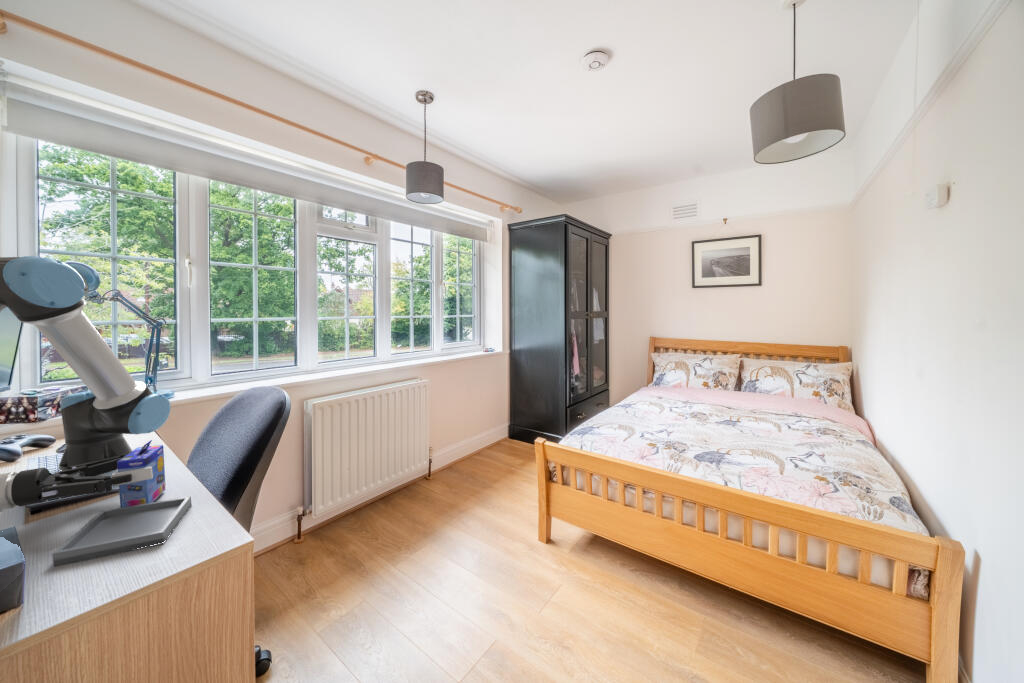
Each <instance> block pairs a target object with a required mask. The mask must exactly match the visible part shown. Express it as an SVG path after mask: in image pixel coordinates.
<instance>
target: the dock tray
mask: <svg viewBox="0 0 1024 683" xmlns="http://www.w3.org/2000/svg"><path fill="white" fill-rule="evenodd" d="M189 508H190V509H191V508H192V496H191V495H190V496H183V497H177V498H172V499H166V500H159V501H154V502H153V503H147V504H141V505H135V506H129V507H123V508H120V507H119V508H118V507H117V508H111V509H106V510H101V511H100V512H98V513H97V514H96V515H95V516H93V518H91V519H90V520H89V521H88V522H87V523H86V524H84V525H83V526H82V527H80V529H79V530H77V532H75V533H74V534H73V535H72V536H71V537H70V538H68V539H67V540H66V541H65V542H64V543H63V544H62V545H60V547H58V548H57V549H56V550H55V551H53V552H52V554H51V555H52V562H53V567H57V566H62V565H67V564H72V563H78V562H81V561H87V560H92V559H97V558H102V557H105V556H106V557H107V556H111V555H116V554H121V552H122V553H125V551H126V552H131V551H134V550H133V549H136V550H138V549H137V548H141V547H145V546H150V545H154V544H158V543H162V542H164V541H165V540H166V539H167V538H168V536H169V535H170V533H171V532H172V531H173V529H174V528H175V527H176V525H177V524H178V523H179V521H180V520H181V519H182V517H183V516H184V515H185V516H186V514H187V513H188V512H187V511H189V510H190V509H189ZM188 509H189V510H188ZM186 512H187V513H186ZM185 513H186V514H185ZM185 516H184V517H185ZM184 517H183V518H184ZM182 520H183V519H182ZM182 520H181V521H182ZM181 521H180V522H181ZM179 524H180V523H179ZM179 524H178V525H179ZM178 525H177V526H178ZM176 528H177V527H176ZM176 528H175V529H176ZM173 532H174V531H173ZM173 532H172V533H173ZM170 536H171V535H170ZM170 536H169V537H170ZM168 539H169V538H168ZM168 539H167V540H168ZM141 549H142V548H141ZM130 550H131V551H130Z"/></svg>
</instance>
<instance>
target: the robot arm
mask: <svg viewBox="0 0 1024 683" xmlns="http://www.w3.org/2000/svg"><path fill="white" fill-rule="evenodd" d="M85 289H86V284H85V281H84V279H83V277H82V275H81V274H80V273H79V272H78V271H77V270H76V269H75V268H73V267H72V266H71V265H69V264H68V263H66V262H63V261H61V260H57V259H54V258H50V257H49V258H48V257H41V256H32V255H31V256H30V255H29V256H12V257H11V256H7V257H6V256H5V257H0V313H1V312H2V311H3V310H5V309H6V308H8V309H9V310H10V312H11V313H12V314H13V315H14V316H15V317H16V318H17V320H18V321H19V322H21V323H24V324H28V325H34V326H35V327H36V328H37V330H38V331H39V332H40V333H41V334H42V335H43V336H44V338H45V339H46V340H47V341H48V342H49V343H50V345H51V346H52V347H53V349H54V350H56V352H57V353H58V354H59V356H60V357H61V358H62V359H63V360H64V362H65V363H66V364H67V365H68V366H69V367H70V369H71V370H72V371H73V372H74V373H75V374H76V376H77V377H78V378H79V380H81V381H82V382H83V384H84V385H85V387H87V389H88V391H87V390H86V391H82V392H77V393H76V392H75V393H71V394H68V395H65V396H63V397H62V398H61V399H60V408H59V411H60V414H61V419H62V420H61V421H62V428H63V436H64V442H65V448H64V449H63V453H62V455H61V458H60V462H59V464H58V470H59V469H60V470H62V471H60V472H59V471H58V472H56V473H51V472H50V470H49V469H47V468H46V467H38V468H33V469H26V470H21V471H18V472H16V471H12V472H6V473H2V474H0V513H2V512H3V511H6V510H9V509H10V510H11V509H14V508H16V507H19V508H20V507H22V508H23V507H25V506H31V505H35V504H36V505H37V504H41V503H44V502H46V501H47V500H53V499H58V498H65V497H66V498H67V497H74V496H75V497H76V496H82V495H83V496H84V495H91V494H99V493H104V492H111V491H112V490H113V487H116V486H119V485H122V484H127V483H132V482H137V481H142V480H147V479H152V478H153V474H152V467H146V468H141V469H135V470H130V471H124V472H119V473H118V472H114V471H118V469H117V462H118V461H119V460H120V459H122V458H123V457H124V456H126V455H128V454H129V453H131V452H132V451H133V449H132V448H131V446H130V445H129V443H128V441H127V440H126V439H125V437H124V434H125V435H141V434H142V435H143V434H144V435H145V434H150V433H153V432H155V431H158V430H159V429H160V428H162V426H164V424H165V423H166V422H167V420H168V419H169V417H170V413H171V409H172V406H171V402H170V400H169V398H168V397H166V395H163V394H160V393H153V392H152V391H151V390H150V389H149V387H148V386H147V384H146V383H145V382H144V381H140V380H135V379H134V377H132V375H131V374H130V372H129V371H128V370H127V368H126V367H125V365H124V364H123V363H122V362H121V361H120V358H118V357H117V355H116V354H115V352H114V351H113V349H111V347H110V346H109V344H108V343H107V342H106V341H105V339H104V338H103V336H102V335H101V334H100V332H99V331H98V330H97V328H96V327H95V326H94V324H93V323H92V321H91V320H90V318H88V317H87V315H86V314H85V312H84V311H83V309H84V307H85V306H86V304H87V302H86V301H85V299H84V296H85V293H86V292H85V291H84V290H85ZM111 472H113V473H112V474H111V475H103V474H107V473H111Z"/></svg>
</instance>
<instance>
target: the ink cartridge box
mask: <svg viewBox="0 0 1024 683" xmlns="http://www.w3.org/2000/svg"><path fill="white" fill-rule="evenodd" d="M152 442H153V440H152V439H150V440H149V441H148V442H147V443H145V444H144V445H143V446H140V447H136V448H135V449H132V452H131V453H129V454H128V455H126V456H124V457H123V458H122V459H120V460H119V461H118V462H117V473H119V472H124V471H130V470H135V469H141V468H146V467H152V474H153V478H152V479H147V480H142V481H137V482H132V483H127V484H122V485H118V490H119V492H118V493H119V494H118V495H119V505H120V507H119V508H123V507H129V506H135V505H141V504H147V503H153V502H156V500H157V499H158V497H160V496H161V495H162V494H163V493H164V492H165V491H166V490H167V489H166V473H165V471H166V470H165V468H166V467H165V453H164V452H165V451H164V445H163V444H162V445H160V444H159V445H158V444H157V445H151V444H152Z"/></svg>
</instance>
